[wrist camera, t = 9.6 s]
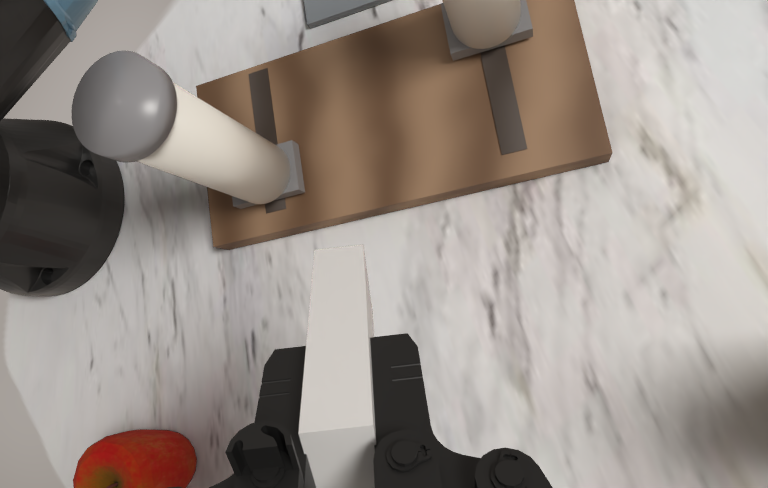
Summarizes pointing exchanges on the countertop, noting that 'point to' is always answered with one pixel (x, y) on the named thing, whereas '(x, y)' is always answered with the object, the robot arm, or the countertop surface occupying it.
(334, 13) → the card
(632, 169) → the countertop surface
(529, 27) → the near slider
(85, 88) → the far slider
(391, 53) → the brown wooden board
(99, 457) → the apple
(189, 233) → the countertop surface
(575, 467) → the countertop surface
